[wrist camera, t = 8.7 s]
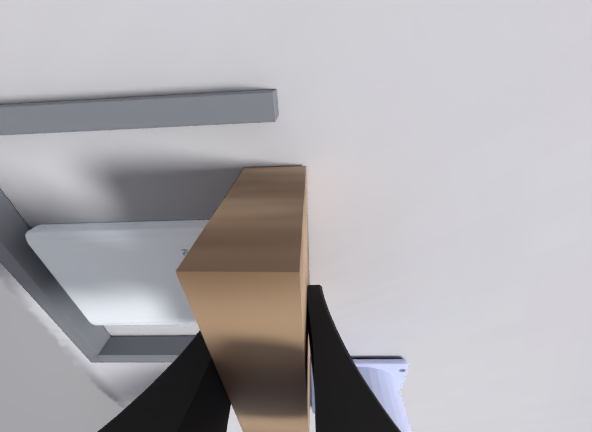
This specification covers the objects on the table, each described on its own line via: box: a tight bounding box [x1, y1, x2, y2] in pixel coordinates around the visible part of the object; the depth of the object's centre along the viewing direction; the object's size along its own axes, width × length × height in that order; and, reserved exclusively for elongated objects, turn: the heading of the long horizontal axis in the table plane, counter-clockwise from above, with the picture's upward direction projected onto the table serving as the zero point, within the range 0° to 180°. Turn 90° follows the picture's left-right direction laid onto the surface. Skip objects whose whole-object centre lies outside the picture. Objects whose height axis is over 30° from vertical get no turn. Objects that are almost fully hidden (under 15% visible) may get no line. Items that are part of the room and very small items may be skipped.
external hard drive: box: [25, 220, 209, 325], centre depth 16 cm, size 2×8×12 cm
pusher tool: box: [175, 166, 310, 432], centre depth 12 cm, size 11×3×7 cm, turn 3°
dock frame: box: [0, 89, 279, 362], centre depth 14 cm, size 18×16×2 cm
